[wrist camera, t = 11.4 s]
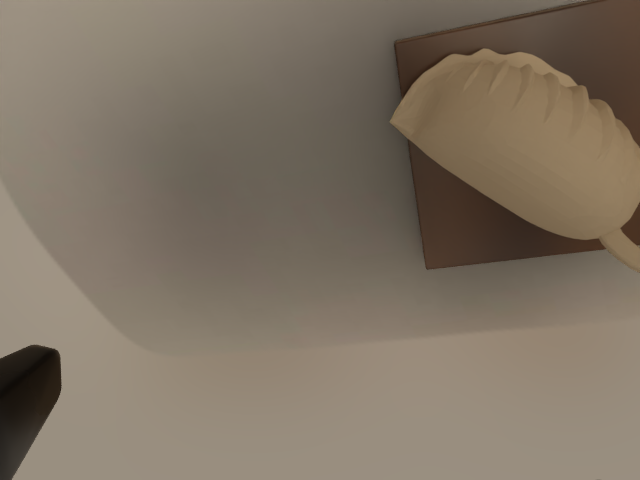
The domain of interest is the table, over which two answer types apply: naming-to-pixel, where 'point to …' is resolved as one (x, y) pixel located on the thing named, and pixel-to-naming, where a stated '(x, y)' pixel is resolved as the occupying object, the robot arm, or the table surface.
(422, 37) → the coaster
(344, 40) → the table surface
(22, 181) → the table surface
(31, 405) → the robot arm
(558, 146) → the decorative ornament
